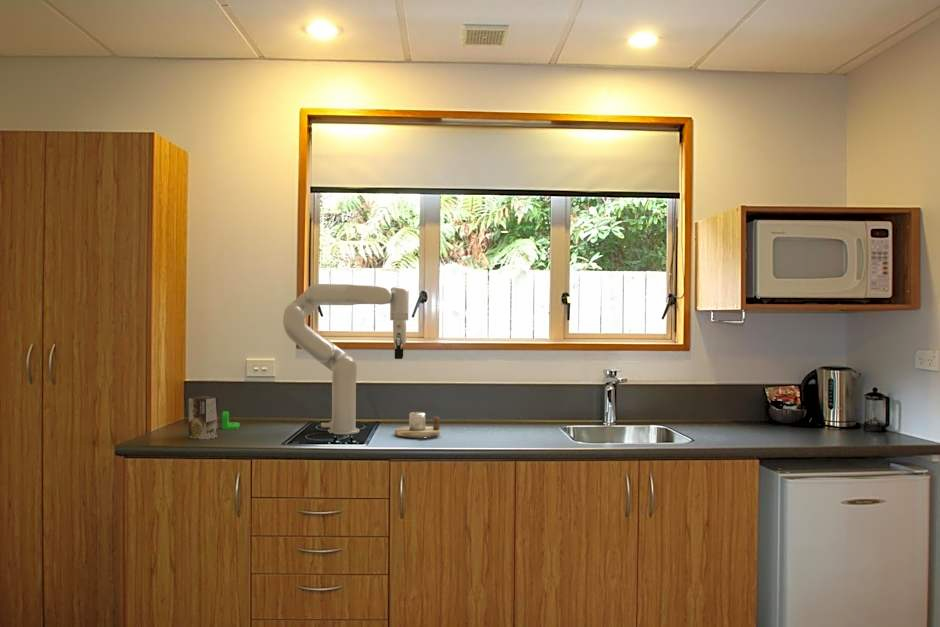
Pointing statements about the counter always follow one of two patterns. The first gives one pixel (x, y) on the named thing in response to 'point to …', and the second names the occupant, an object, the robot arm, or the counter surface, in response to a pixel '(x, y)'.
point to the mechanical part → (226, 422)
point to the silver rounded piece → (417, 421)
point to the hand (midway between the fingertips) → (398, 358)
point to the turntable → (424, 433)
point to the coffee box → (203, 417)
